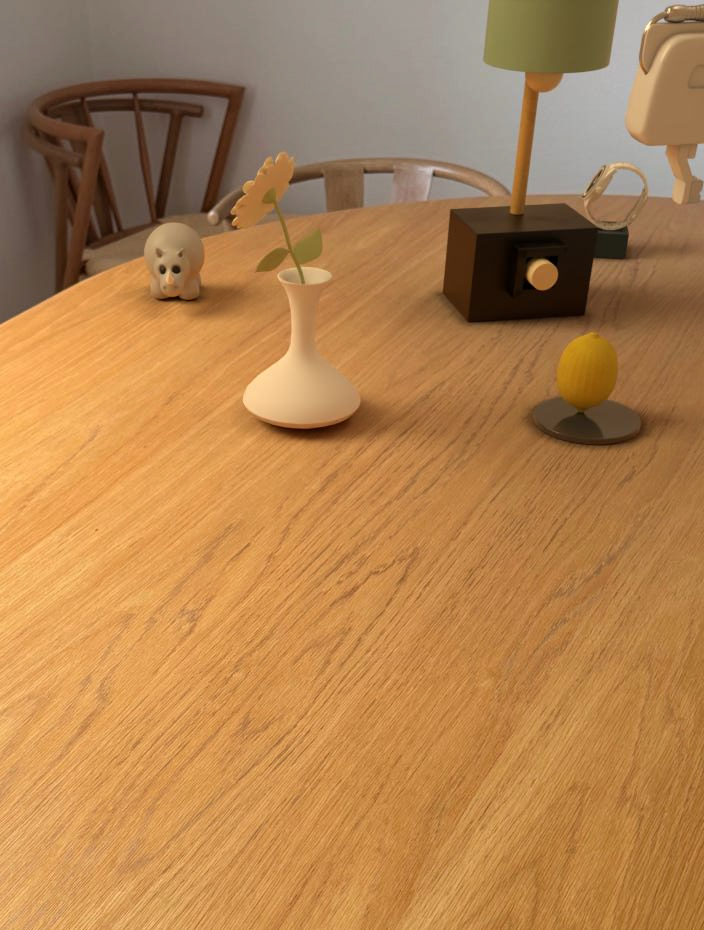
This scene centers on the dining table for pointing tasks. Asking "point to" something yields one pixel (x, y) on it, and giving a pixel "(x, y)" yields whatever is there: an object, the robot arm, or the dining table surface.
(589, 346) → the lemon
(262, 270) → the flower in vase
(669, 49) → the robot arm
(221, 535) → the dining table surface
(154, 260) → the round bodied animal figurine
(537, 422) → the coaster
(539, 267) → the lamp switch
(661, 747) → the dining table surface
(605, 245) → the watch
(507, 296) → the desk lamp
